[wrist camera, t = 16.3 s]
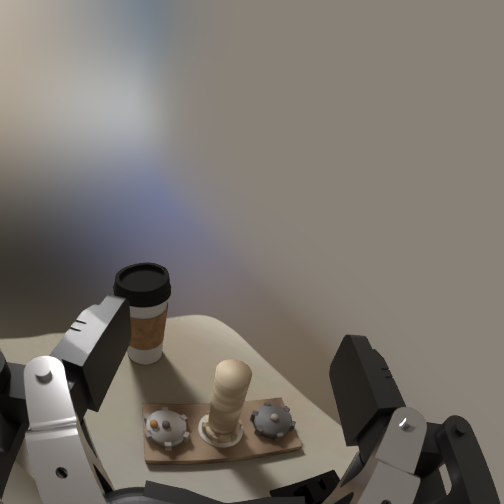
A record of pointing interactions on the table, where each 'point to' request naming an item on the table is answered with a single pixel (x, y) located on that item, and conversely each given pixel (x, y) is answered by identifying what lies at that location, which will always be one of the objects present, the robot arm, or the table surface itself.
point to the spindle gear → (227, 401)
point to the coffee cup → (145, 308)
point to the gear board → (201, 447)
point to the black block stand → (310, 488)
